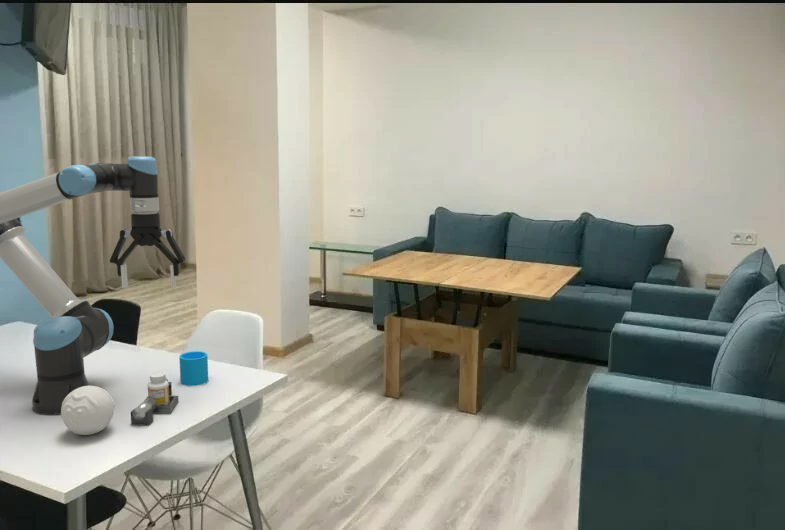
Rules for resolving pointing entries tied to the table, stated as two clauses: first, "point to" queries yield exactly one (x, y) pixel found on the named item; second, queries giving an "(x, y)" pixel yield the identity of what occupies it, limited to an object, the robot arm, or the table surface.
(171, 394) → the shaft
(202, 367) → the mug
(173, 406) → the collar
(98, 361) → the table surface
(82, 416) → the decorative ball
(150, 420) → the shaft
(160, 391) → the supplement bottle
